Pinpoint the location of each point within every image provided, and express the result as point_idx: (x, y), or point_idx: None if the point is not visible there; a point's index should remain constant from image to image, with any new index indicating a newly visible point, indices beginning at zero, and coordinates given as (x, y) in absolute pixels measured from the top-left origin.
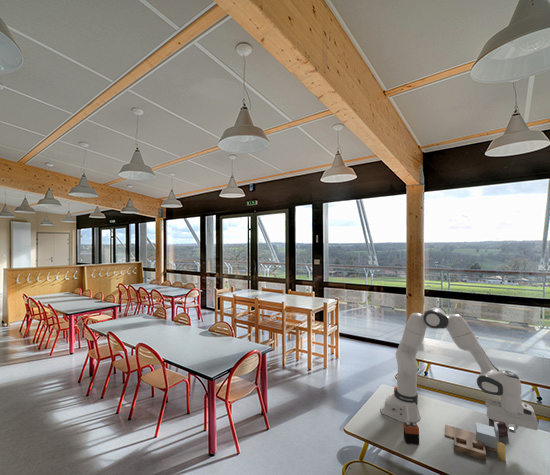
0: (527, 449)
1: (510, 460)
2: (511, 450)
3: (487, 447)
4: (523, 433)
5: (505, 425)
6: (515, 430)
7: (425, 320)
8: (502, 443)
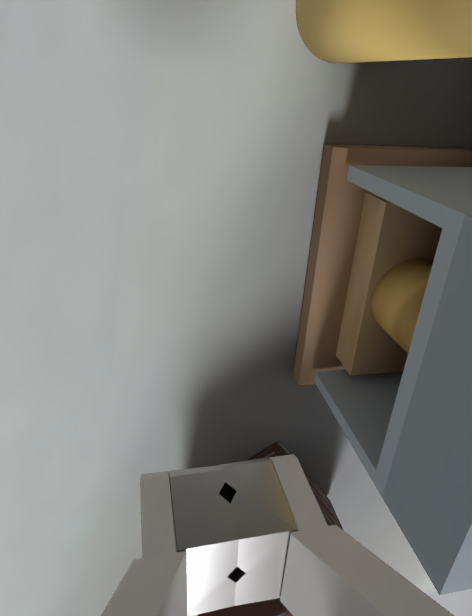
0: (12, 404)
1: (231, 28)
2: (183, 285)
3: (467, 155)
4: (46, 608)
5: (224, 611)
6: (146, 546)
7: None
8: (459, 24)
